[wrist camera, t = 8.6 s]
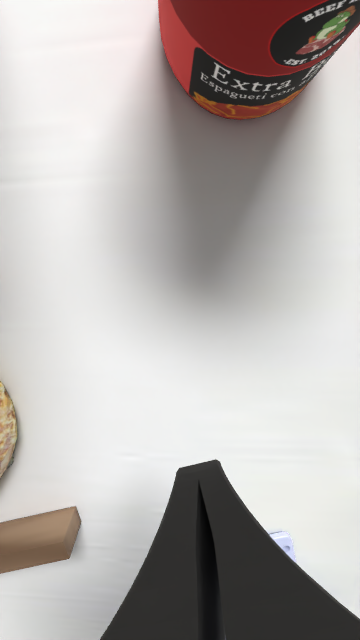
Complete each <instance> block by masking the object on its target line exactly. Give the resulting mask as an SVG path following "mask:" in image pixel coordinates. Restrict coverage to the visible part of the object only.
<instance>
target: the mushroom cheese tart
mask: <svg viewBox="0 0 360 640" xmlns="http://www.w3.org/2000/svg"><path fill="white" fill-rule="evenodd" d="M14 412H15V410H14V407H13V403H12V400H11V398H10V397H9V395H8V394H7V392H6V389H5V388H4V386H3V384H2V383H1V381H0V478H1V476H2V474H3V473H4V471H5V470H6V469H7V468H8V467H10V465H12V463H13V458H14V457H12V454H13V452H14V448H15V442H16V439H17V429H16V427H17V422H16V419H15V413H14Z"/></svg>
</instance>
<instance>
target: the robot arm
mask: <svg viewBox="0 0 360 640" xmlns="http://www.w3.org/2000/svg"><path fill="white" fill-rule="evenodd" d="M284 546H285V547H284ZM100 640H360V619H359V618H358V617H357V616H355V615H354V614H353V613H352V612H350V611H349V610H348V609H347V608H345V607H344V606H343V605H342V604H340V603H339V602H338V601H337V600H336V599H335V598H334V597H332V596H331V595H330V594H329V593H328V592H327V591H326V590H325V589H323V588H322V587H321V586H320V585H319V584H318V583H317V582H316V581H314V580H313V579H312V578H311V577H310V576H309V575H308V574H307V573H305V572H304V571H303V570H302V569H301V568H300V567H299V566H298V565H297V564H296V559H295V553H294V547H293V542H292V539H291V536H290V534H289V533H287V532H279V533H274V534H268V533H267V532H266V531H265V530H264V528H263V527H262V526H261V525H260V524H259V522H258V521H257V520H256V519H255V518H254V516H253V515H252V514H251V512H250V511H249V510H248V508H247V507H246V506H245V504H244V503H243V501H242V500H241V499H240V497H239V496H238V494H237V493H236V491H235V490H234V488H233V487H232V485H231V484H230V482H229V480H228V478H227V477H226V475H225V473H224V471H223V469H222V466H221V463H220V462H219V461H218V460H212V461H208V462H203V463H199V464H195V465H191V466H186V467H182V468H179V469H178V471H177V473H176V478H175V482H174V485H173V489H172V492H171V495H170V499H169V502H168V505H167V507H166V510H165V513H164V516H163V519H162V521H161V524H160V527H159V529H158V531H157V534H156V536H155V538H154V541H153V543H152V546H151V548H150V550H149V553H148V555H147V557H146V559H145V561H144V563H143V565H142V567H141V569H140V571H139V573H138V575H137V577H136V579H135V581H134V583H133V585H132V587H131V589H130V590H129V592H128V594H127V596H126V597H125V599H124V601H123V603H122V604H121V606H120V608H119V610H118V611H117V613H116V615H115V617H114V618H113V620H112V621H111V623H110V625H109V626H108V628H107V630H106V631H105V633H104V634H103V636H102V637H101V639H100Z"/></svg>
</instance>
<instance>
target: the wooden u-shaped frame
mask: <svg viewBox="0 0 360 640" xmlns="http://www.w3.org/2000/svg"><path fill="white" fill-rule="evenodd" d="M80 524H81V520H80V517H79V514H78V511H77V508H76V506H75V507H70V508H65V509H61V510H56V511H52V512H47V513H43V514H38V515H33V516H29V517H24V518H20V519H15V520H11V521H6V522H1V523H0V574H1V573H5V572H10V571H15V570H19V569H24V568H29V567H33V566H38V565H42V564H47V563H52V562H56V561H61V560H66V559H69V558H70V555H71V552H72V549H73V546H74V543H75V540H76V536H77V533H78V530H79V527H80Z"/></svg>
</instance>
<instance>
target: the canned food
mask: <svg viewBox="0 0 360 640" xmlns="http://www.w3.org/2000/svg"><path fill="white" fill-rule="evenodd" d="M158 8H159V22H160V32H161V39H162V43H163V46H164V50H165V54H166V58H167V60H168V62H169V64H170V66H171V68H172V70H173V73H174V75H175V76H176V78H177V80H178V81H179V82H180V84H181V85H182V87H183V88H184V90H185V91H186V92H187V94H188V95H189V96H190V97H191V98H192V99H193V100H194V101H195V102H196V103H197V104H198V105H200V106H201V107H203V108H204V109H206V110H208V111H209V112H211V113H213V114H215V115H218V116H221V117H224V118H229V119H238V120H242V119H250V118H257V117H261V116H264V115H266V114H269V113H272V112H275V111H276V110H278V109H280V108H281V107H283V106H285V105H286V104H288V103H289V102H290V101H292V100H293V99H294V98H295V97H296V96H297V95H298V94H299V93H300V92H301V91H302V90H303V89H304V88H305V87H306V86H307V84H308V83H309V82H310V81H311V80H312V79H313V78H314V76H315V75H316V74H317V73H318V72H319V71H320V69H321V68H322V67H323V66H324V65H325V64H326V63H327V61H328V60H329V59H330V58H331V57H332V56H333V54H334V53H335V52H336V51H337V50H338V49H339V48H340V46H341V45H342V44H343V43H344V42H345V41H346V39H347V38H348V37H349V36H350V35H351V34H352V33H353V31H354V30H355V29H356V28H357V27H358V26H359V24H360V0H158Z"/></svg>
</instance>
